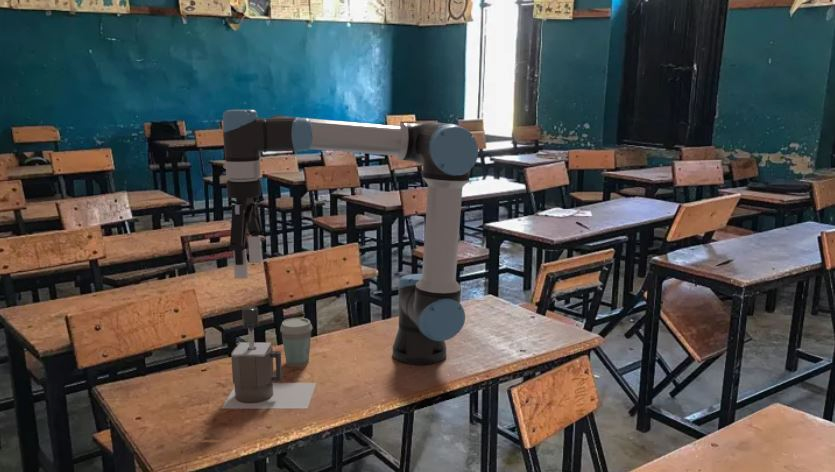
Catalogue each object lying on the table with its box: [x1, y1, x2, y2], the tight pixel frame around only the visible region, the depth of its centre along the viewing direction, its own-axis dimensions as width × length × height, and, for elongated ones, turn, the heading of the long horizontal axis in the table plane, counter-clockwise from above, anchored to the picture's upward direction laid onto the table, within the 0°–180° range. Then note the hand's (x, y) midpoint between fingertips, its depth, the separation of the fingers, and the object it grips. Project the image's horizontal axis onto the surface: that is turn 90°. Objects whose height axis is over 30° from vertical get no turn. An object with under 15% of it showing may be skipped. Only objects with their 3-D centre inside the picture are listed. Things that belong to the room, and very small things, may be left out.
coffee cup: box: [279, 317, 313, 368], centre depth 183 cm, size 8×8×12 cm
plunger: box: [241, 306, 259, 357], centre depth 162 cm, size 4×4×16 cm
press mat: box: [221, 382, 317, 410], centre depth 165 cm, size 20×14×1 cm
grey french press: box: [230, 341, 283, 403], centre depth 164 cm, size 11×9×12 cm
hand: (248, 270), depth 158 cm, fingers open, 13 cm apart
